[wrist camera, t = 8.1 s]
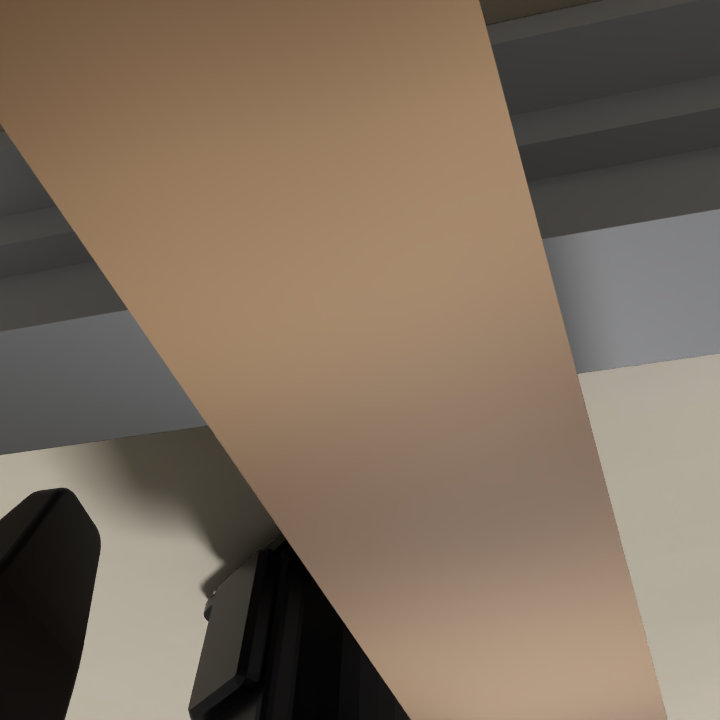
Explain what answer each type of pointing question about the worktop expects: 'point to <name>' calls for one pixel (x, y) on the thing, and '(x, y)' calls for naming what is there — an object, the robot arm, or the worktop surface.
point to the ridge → (549, 198)
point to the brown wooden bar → (353, 319)
